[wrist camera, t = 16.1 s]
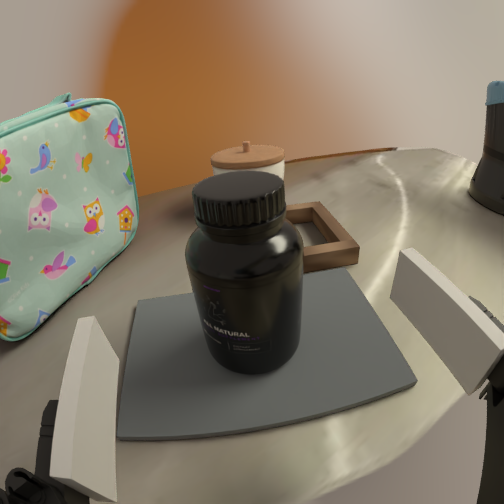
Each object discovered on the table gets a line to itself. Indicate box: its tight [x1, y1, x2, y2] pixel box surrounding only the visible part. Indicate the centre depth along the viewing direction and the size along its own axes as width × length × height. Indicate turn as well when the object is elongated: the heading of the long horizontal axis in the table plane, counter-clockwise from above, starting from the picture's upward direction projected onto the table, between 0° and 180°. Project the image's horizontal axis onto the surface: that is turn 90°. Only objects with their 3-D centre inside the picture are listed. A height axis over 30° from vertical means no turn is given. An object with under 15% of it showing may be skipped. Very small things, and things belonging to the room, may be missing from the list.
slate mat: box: [117, 267, 418, 440], centre depth 22 cm, size 20×14×1 cm
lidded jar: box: [211, 141, 285, 180], centre depth 43 cm, size 11×11×9 cm
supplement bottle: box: [185, 170, 304, 375], centre depth 18 cm, size 7×7×12 cm
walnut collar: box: [285, 202, 360, 273], centre depth 34 cm, size 12×12×2 cm
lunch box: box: [0, 93, 139, 341], centre depth 26 cm, size 27×10×21 cm, turn 160°
